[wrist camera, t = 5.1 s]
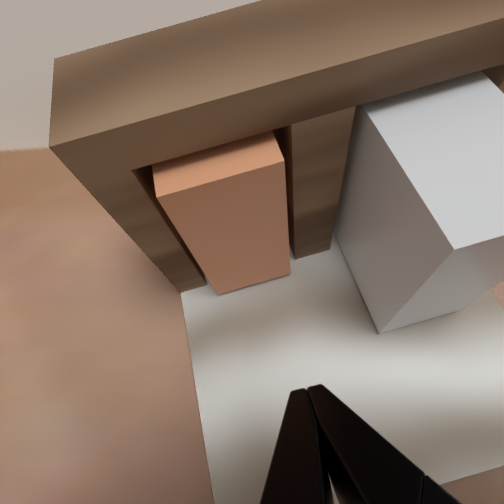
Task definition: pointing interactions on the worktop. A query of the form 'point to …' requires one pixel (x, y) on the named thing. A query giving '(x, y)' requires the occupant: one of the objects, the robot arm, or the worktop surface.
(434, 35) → the socket block
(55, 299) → the worktop surface
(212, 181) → the terracotta plug
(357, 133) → the grey plug
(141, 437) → the worktop surface
